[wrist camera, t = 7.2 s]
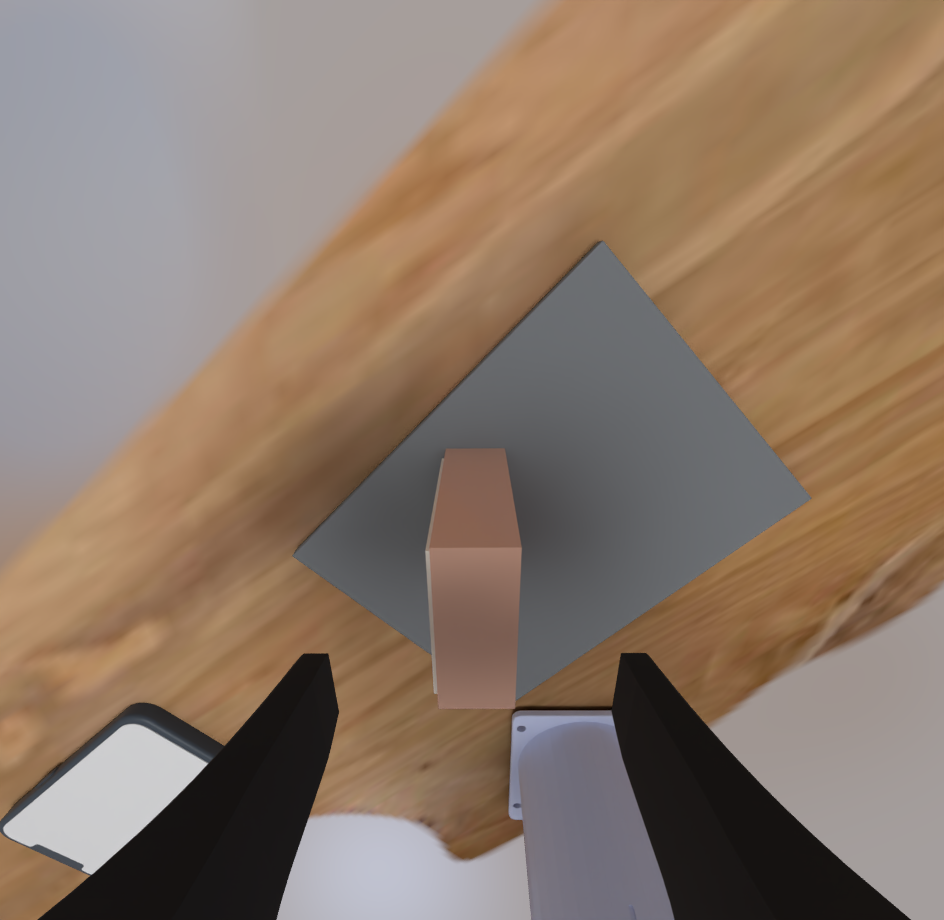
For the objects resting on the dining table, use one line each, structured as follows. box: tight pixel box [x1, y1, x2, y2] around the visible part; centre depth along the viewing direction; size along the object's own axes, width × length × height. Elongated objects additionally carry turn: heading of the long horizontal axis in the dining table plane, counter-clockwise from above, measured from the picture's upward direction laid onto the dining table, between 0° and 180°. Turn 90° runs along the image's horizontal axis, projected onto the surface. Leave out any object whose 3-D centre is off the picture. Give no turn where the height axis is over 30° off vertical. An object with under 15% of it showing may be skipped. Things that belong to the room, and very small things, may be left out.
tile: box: [425, 448, 522, 709], centre depth 16 cm, size 6×3×7 cm, turn 1°
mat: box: [293, 241, 811, 701], centre depth 20 cm, size 18×14×1 cm
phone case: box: [0, 703, 224, 876], centre depth 28 cm, size 9×2×16 cm
